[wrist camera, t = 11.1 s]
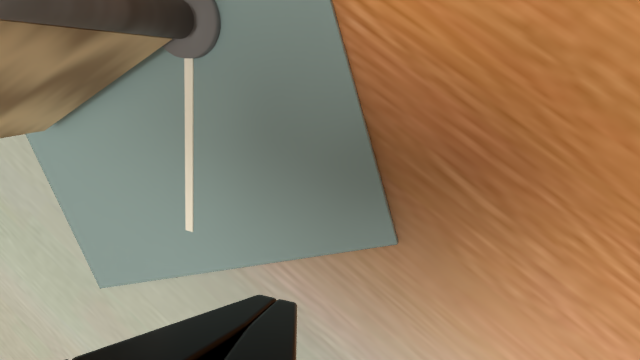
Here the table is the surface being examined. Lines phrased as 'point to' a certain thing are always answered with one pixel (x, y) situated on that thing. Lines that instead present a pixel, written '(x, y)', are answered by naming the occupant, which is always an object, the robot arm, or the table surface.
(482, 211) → the table surface
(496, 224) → the table surface
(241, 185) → the board
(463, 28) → the table surface
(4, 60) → the gate
